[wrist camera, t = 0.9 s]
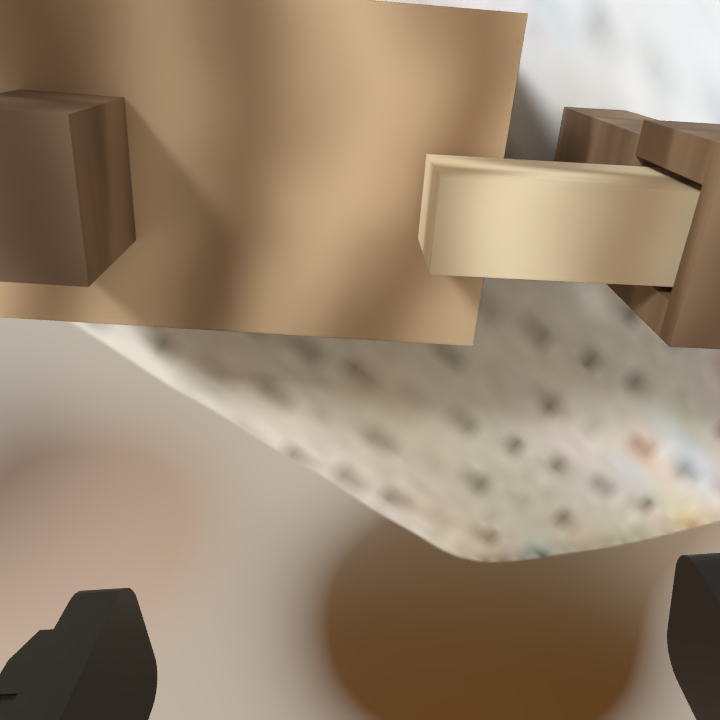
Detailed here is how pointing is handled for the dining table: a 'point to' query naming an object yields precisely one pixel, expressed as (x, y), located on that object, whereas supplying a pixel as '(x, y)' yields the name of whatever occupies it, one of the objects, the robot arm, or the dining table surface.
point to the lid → (242, 161)
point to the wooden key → (554, 220)
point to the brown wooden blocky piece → (708, 227)
